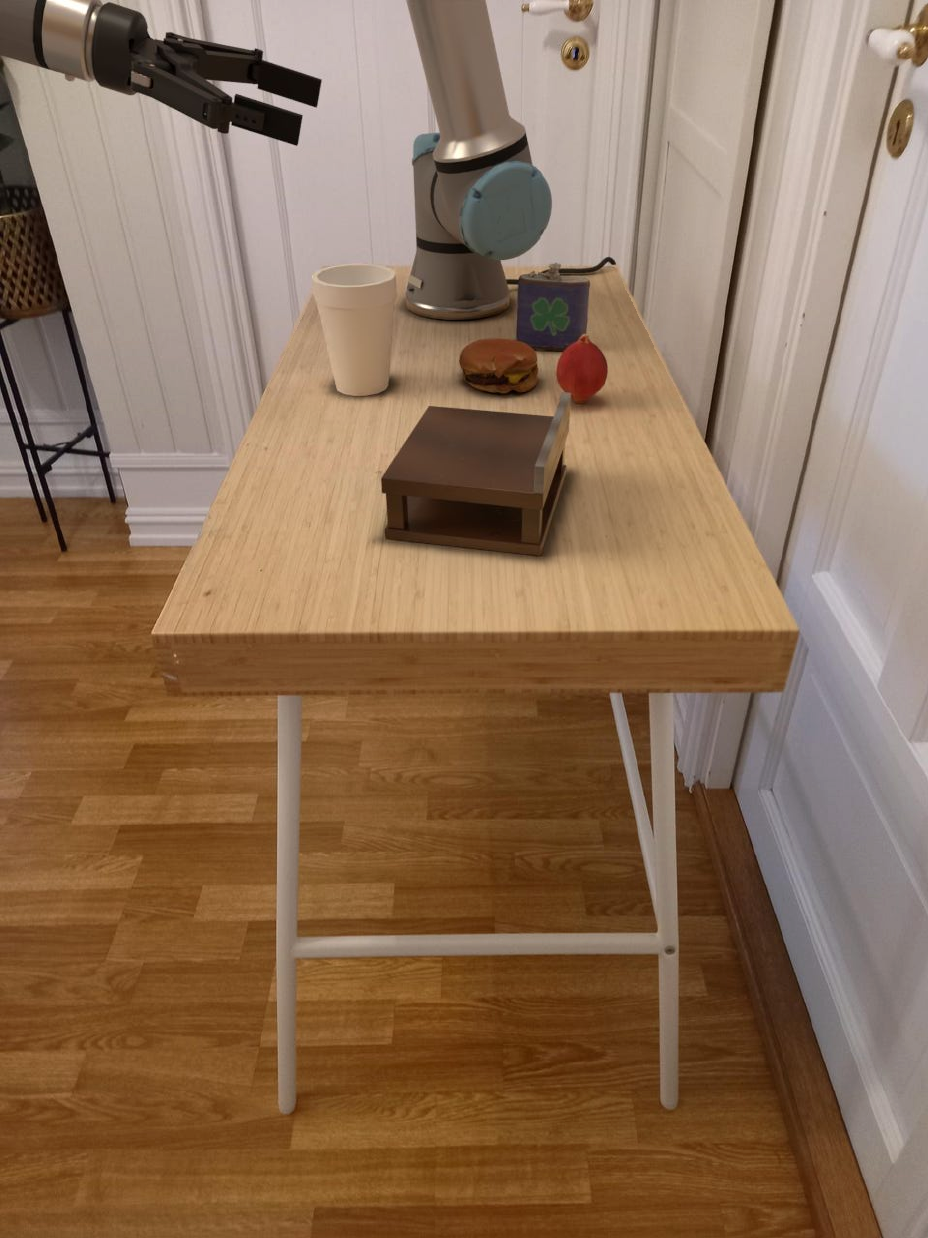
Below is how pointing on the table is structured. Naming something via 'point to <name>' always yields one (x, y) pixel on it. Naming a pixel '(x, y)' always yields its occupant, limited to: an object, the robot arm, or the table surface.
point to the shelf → (478, 479)
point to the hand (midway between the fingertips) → (310, 111)
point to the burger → (499, 365)
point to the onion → (582, 369)
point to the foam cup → (357, 324)
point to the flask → (551, 309)
